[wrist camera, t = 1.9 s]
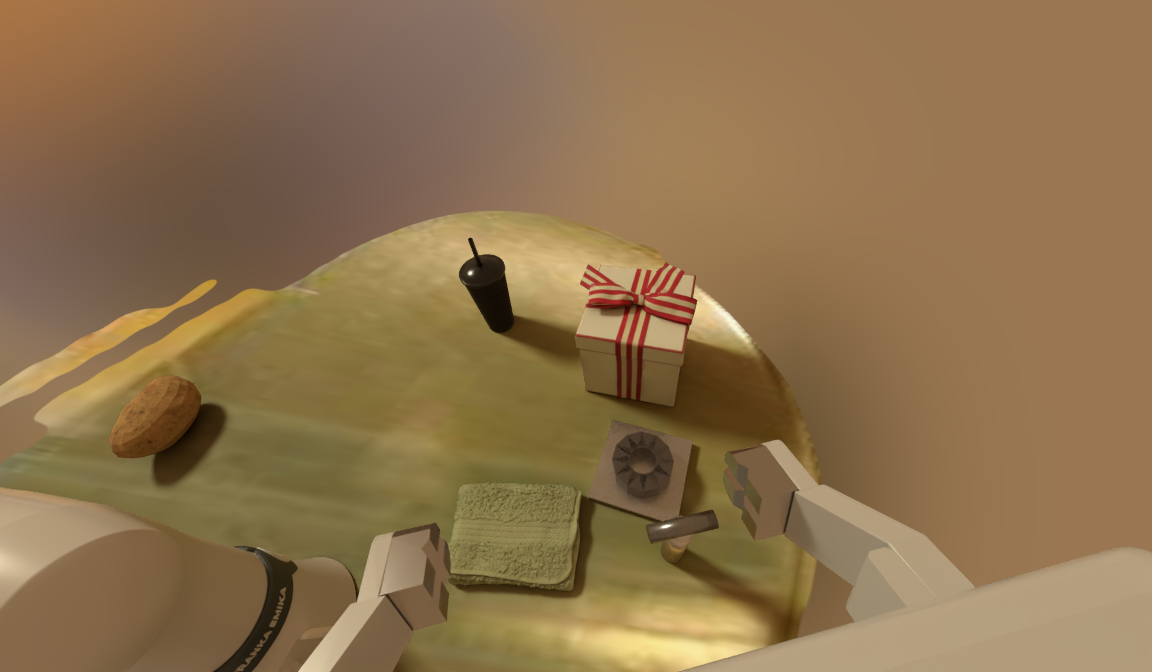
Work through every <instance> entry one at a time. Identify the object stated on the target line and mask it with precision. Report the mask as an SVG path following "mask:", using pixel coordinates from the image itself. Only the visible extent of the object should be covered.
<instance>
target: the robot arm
mask: <svg viewBox="0 0 1152 672" xmlns="http://www.w3.org/2000/svg"><path fill="white" fill-rule="evenodd" d="M725 462H726V464H727V465H728V467H727V468H726V469H725V471H724V478H723V480H724V484H725V489H726V491H727V494H728V496H729V498H730V500H731V501H732V503H733V505H735V506H736V507H738V508H740V509H741V510H743V512H742V520H743V522H744V524H745V525H746V527H747V529H748V531H749V532H750V534H751V536H752V537H753V539H754V541H756V540H760V539H765V538H769V537H773V536H778V535H782V534H785V535H784V536H786V537H787V538H788V539H790V540H791V541H792V542H794V543H795V544H797V545H798V546H799V547H801V548H802V549H803V550H805V551H806V552H807V553H809V554H810V555H812V556H813V557H814V558H816V559H817V560H818V561H820V562H821V563H823V564H824V565H825V566H827V567H828V568H829V569H831V570H832V571H833V572H835V573H836V574H838V575H839V576H840V577H842V578H843V579H845V580H846V581H847V582H849V583H850V584H851V585H853V586H854V587H853V589H852V592H851V594H850V596H849V598H848V601H847V604H846V609H847V611H848V612H849V613H850V615H851V616H852V618H853V620H854V621H855V622H852V623H849V624H845V625H841V626H838V627H834V628H831V629H828V630H824V631H820V632H817V633H814V634H810V635H807V636H803V637H799V638H796V639H792V640H789V641H785V642H782V643H778V644H774V645H771V646H767V647H764V648H760V649H757V650H753V651H750V652H746V653H743V654H739V655H736V656H732V657H729V658H725V659H722V660H718V661H714V662H711V663H707V664H704V665H700V666H697V667H693V668H690V669H686V670H683V671H679V672H1152V552H1149V551H1146V550H1143V549H1139V548H1134V547H1119V548H1114V549H1109V550H1105V551H1102V552H1099V553H1095V554H1092V555H1088V556H1085V557H1082V558H1078V559H1075V560H1072V561H1068V562H1064V563H1061V564H1057V565H1053V566H1050V567H1047V568H1043V569H1040V570H1036V571H1032V572H1029V573H1025V574H1021V575H1018V576H1015V577H1011V578H1007V579H1004V580H1000V581H997V582H993V583H990V584H986V585H983V586H980V587H974V586H973V585H972V584H971V583H970V582H969V581H968V580H967V579H966V578H965V576H963V574H962V573H961V572H960V571H959V570H958V569H957V568H956V567H955V566H954V565H953V564H952V563H951V562H950V561H949V560H948V559H947V558H946V557H945V556H944V555H943V554H942V553H941V552H940V551H939V550H938V549H937V547H936V546H935V545H934V544H933V543H932V542H930V540H929V539H928V538H927V537H926V536H925V535H923V534H921V533H919V532H917V531H915V530H913V529H911V528H909V527H907V526H905V525H903V524H901V523H899V522H897V521H895V520H893V519H892V518H890V517H888V516H885V515H883V514H881V513H880V512H878V511H876V510H874V509H872V508H870V507H868V506H866V505H864V504H862V503H860V502H858V501H856V500H854V499H852V498H850V497H847V496H846V495H844V494H842V493H840V492H838V491H836V490H834V489H832V488H830V487H828V486H826V485H818V484H817V483H816V481H815V480H814V479H813V478H812V477H811V475H810V474H809V473H808V472H807V471H806V469H805V468H804V467H803V466H802V465H801V463H800V462H799V461H798V460H797V459H796V457H795V456H794V455H793V454H792V453H791V451H790V450H789V449H788V448H787V447H786V445H785V444H784V443H783V442H782V441H780V440H774V441H770V442H766V443H762V444H756V445H752V446H748V447H744V448H740V449H736V450H733V451H729V452H727V453H726V455H725ZM439 535H440V529H439V527H438V526H437V524H436V523H433V524H428V525H423V526H419V527H414V528H410V529H405V530H400V531H395V532H391V533H387V534H383V535H379V536H376V537H375V539H374V540H373V542H372V544H371V548H370V552H369V556H368V560H367V564H366V568H365V572H364V575H363V579H362V583H361V587H360V591H359V595H358V599H357V602H356V591H355V585H354V582H353V579H352V577H351V575H350V573H349V572H348V570H347V569H346V568H345V567H344V566H343V565H342V564H341V563H339V562H338V561H336V560H333V559H330V558H325V557H315V558H310V559H304V560H291V559H289V558H288V557H286V556H284V555H281V554H279V553H276V552H272V551H269V550H266V549H262V548H253V547H248V546H235V547H231V546H228V545H224V544H221V543H217V542H214V541H210V540H206V539H203V538H199V537H196V536H192V535H189V534H186V533H183V532H181V531H179V530H177V529H175V528H172V527H170V526H167V525H164V524H162V523H159V522H156V521H153V520H150V519H148V518H145V517H142V516H139V515H136V514H133V513H130V512H127V511H123V510H120V509H117V508H114V507H111V506H107V505H102V504H97V503H92V502H86V501H81V500H76V499H71V498H65V497H60V496H55V495H49V494H44V493H39V492H32V491H22V490H13V489H8V488H2V487H0V672H393V670H394V668H395V666H396V664H397V663H398V661H399V659H400V657H401V655H402V653H403V651H404V650H405V648H406V646H407V644H408V642H409V640H410V639H411V637H412V635H413V631H414V630H418V629H421V628H424V627H428V626H431V625H435V624H438V623H442V622H445V621H447V610H448V598H449V593H448V591H447V590H446V588H445V586H444V585H445V583H446V582H447V580H448V579H449V577H450V572H451V560H450V551H449V548H448V545H447V543H446V541H445V539H442V538H440V537H439Z"/></svg>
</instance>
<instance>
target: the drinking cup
mask: <svg viewBox="0 0 1152 672" xmlns="http://www.w3.org/2000/svg"><path fill="white" fill-rule="evenodd" d="M468 241H469V244H470V246H471V249H472V252H473V254H474V257H473V258H471V259H469V260H468V261H467V262H465V263H464V264H463V265H462V267H461V269H460V271H459V278H460V280H461V282H462V283H463V284H464V285H465V286H466V288H467V289H468V291H469V293H470V295H471V296H472V298H473V300H474V301H475V303H476V305H477V307H478V308H479V310H480V312H481V313H482V315H483V317H484V319H485V320H486V322H487V324H488V325H489V327H490V329H491V330H492V331H494V332H505V331H507V330H509V329H510V328H511V327H512V325H513V323H514V317H513V312H512V307H511V302H510V297H509V292H508V287H507V282H506V277H505V264H504V262H503V261H502V259H500V258H499V257H497V256H495V255H489V254H485V255H478V253H477V250H476V247H475V244H474V242H473V239H472V238H469V239H468Z"/></svg>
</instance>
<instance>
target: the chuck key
mask: <svg viewBox="0 0 1152 672" xmlns="http://www.w3.org/2000/svg"><path fill="white" fill-rule="evenodd" d="M717 528H719V525H718V520H717V517H716V515H715V513H714V511H713V510H708V511H704V512H700V513H695V514H691V515H687V516H681V515H678V516H675V517H673V518H672V519H670V520H665V521H661V522H657V523H653V524H648V525H646V529H647V534H648V537H649V541H650V543H651V544H654V543H658V542H662V541H663V544H662V548H661V554H662V556H663V558H664V559H665V560H666V561H667V562H669V563H677V562H678V561H679V560H680V559H681V557H682V555H683V553H684V552H685V550H686V548H687V546H688V544H689V542H690V540H691V538H692V537H693V534H696V533H701V532H705V531H709V530H713V529H717Z"/></svg>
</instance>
